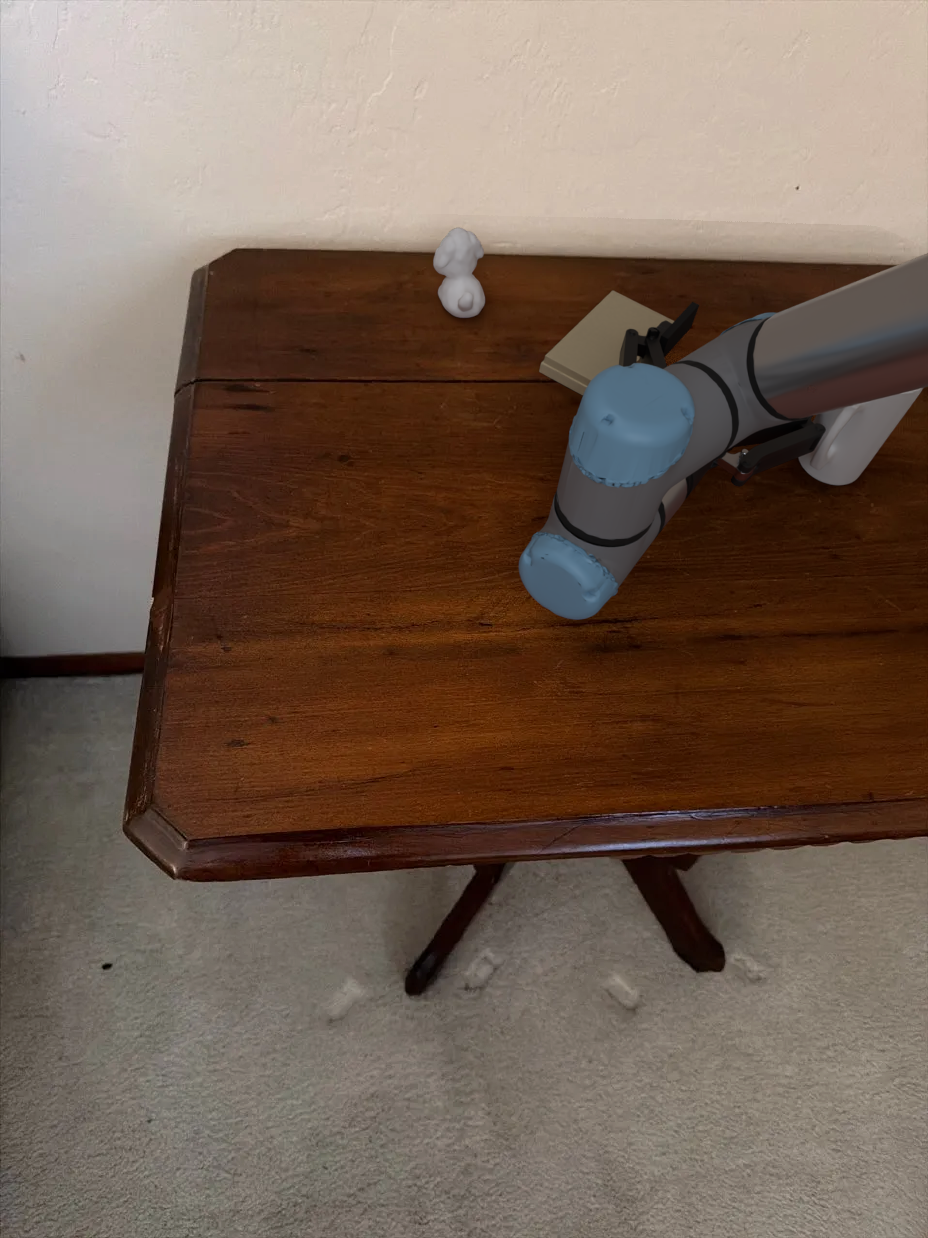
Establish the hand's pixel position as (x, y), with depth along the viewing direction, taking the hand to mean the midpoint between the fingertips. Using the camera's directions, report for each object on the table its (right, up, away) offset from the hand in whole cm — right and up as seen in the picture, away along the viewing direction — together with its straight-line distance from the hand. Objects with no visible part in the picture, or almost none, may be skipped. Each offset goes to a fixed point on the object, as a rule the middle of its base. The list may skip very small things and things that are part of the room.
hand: (754, 345), depth 85 cm
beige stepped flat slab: (-13, +1, +7) cm, 15 cm away
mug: (+6, -12, +1) cm, 14 cm away
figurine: (-28, +7, +9) cm, 31 cm away
